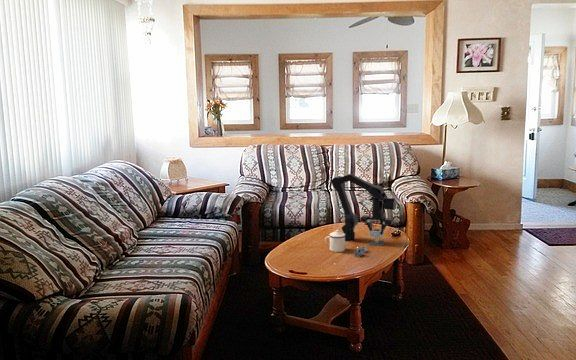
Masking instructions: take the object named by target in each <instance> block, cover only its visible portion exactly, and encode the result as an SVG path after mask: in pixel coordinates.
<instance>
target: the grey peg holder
mask: <svg viewBox="0 0 576 360" xmlns="http://www.w3.org/2000/svg"><path fill="white" fill-rule="evenodd" d="M384 243H385V241H384V240H380V238H377V237H374V240H372V239H370V240H369V246H376V247H377V246H378V247H383V246H384V245H385V244H384Z"/></svg>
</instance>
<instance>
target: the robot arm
mask: <svg viewBox="0 0 576 360" xmlns="http://www.w3.org/2000/svg"><path fill="white" fill-rule="evenodd" d="M347 182H350V183H352V184H353V185H354V184H355V185H356V186H358V187H360V188H362V189H364V190H365V191H366V192H367V193H368V194H370V195H371V197H370V198H369V199H368V201H371V202H372V207H371V209H372V210H371V213H372V214H371V215H372V217H371V216H370V215H367V214H363V215H362V216H360V222H364V224H365V225H366V226H367V227H368V229H369V232H370V231H371V230H372V229H373V222H376V223H377V222H378V223H382V224H381V227H380V229H381V235H383V236H384V232H385V230H386V227H387V226H392V225H393V224H395V219H394V218H392V217H386V212H385V211H384V210H390V211H395V210H396V208H397V202H396V198H395V197H388V196H387V194H386V193H385V189H384V188H383V186H381V185H378V184H373V183H370V182H368V181H366V180H364V179H362V178H361V177H359V176H357V175H355V174H354V173H348V174H346V175H337V176H336V177H335V176H334V177H333V178H332V180H331V182H330V183H331V186H332V188H333V189H334V190H335V191H336V192H337V195H338V198H339V201H340V204H341V207H342V211H343V212H344V225H342V227H341V229H342V230H341V231H342V233H344V234H345V235H346V236H345V242H346V241H347V242H354V240H355V238H356V232H355V228H356V227H357V226H358V224H359V218H358V215H357V213H355V214H354V212H353V211H352V207H351V205H350V200H349V199H348V198H349V197H348V195H347V193H346V183H347Z"/></svg>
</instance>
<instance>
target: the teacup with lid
mask: <svg viewBox="0 0 576 360" xmlns="http://www.w3.org/2000/svg"><path fill="white" fill-rule="evenodd" d="M345 236H346V235H345V234H344V233H343V231H342V232H341V231H340V229H336V230H334V231H333V232H330V233H329V234H328V236H326V237H324V242H325V243H326V245H328V246H329V251H331V252H334V253H341V252H344V251H346V241H345ZM327 238H328V239H329V241H327V240H328V239H327Z"/></svg>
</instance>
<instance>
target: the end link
mask: <svg viewBox="0 0 576 360" xmlns="http://www.w3.org/2000/svg"><path fill="white" fill-rule="evenodd" d="M383 236H384V234H383V235H381V228H374V227H372V230H371V231H370V230H369V237H370V238H371V237H372V238H375V237H377V238H379V239H380V238H383Z"/></svg>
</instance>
